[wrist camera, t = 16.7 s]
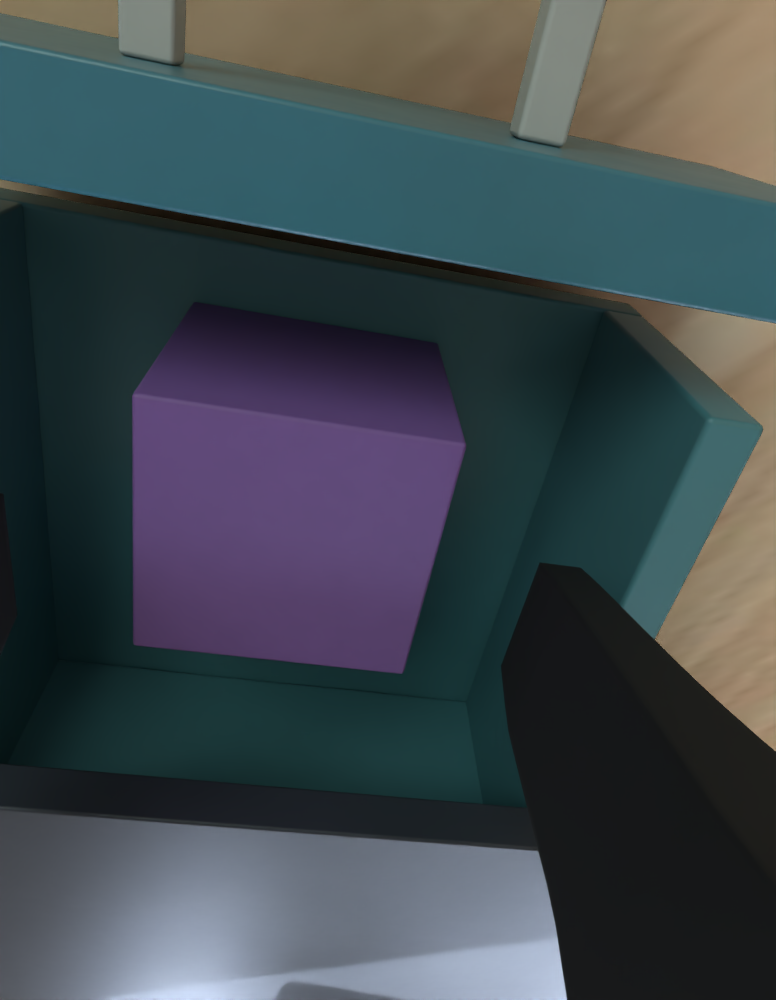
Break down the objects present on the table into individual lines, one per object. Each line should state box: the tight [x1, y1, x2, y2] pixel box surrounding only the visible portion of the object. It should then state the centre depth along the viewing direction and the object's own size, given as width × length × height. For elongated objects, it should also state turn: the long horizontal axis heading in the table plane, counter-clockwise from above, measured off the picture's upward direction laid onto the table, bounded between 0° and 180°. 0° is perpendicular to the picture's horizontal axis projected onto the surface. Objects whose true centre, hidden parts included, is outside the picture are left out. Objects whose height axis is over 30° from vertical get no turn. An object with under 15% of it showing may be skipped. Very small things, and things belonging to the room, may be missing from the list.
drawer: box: [0, 0, 776, 808], centre depth 11 cm, size 18×13×6 cm
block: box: [132, 302, 466, 674], centre depth 12 cm, size 4×4×4 cm
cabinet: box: [0, 763, 567, 1000], centre depth 18 cm, size 15×14×8 cm
